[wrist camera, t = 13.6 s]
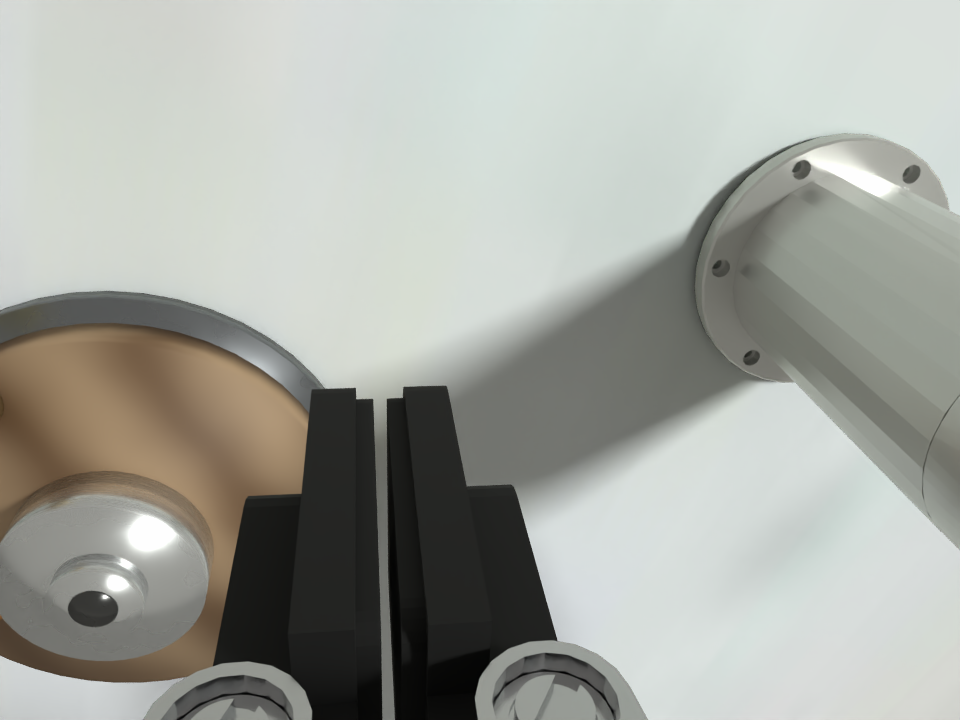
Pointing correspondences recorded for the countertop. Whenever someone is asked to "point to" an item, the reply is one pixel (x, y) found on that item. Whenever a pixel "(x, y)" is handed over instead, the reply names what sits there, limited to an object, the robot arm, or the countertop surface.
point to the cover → (105, 566)
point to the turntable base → (165, 317)
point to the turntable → (145, 450)
